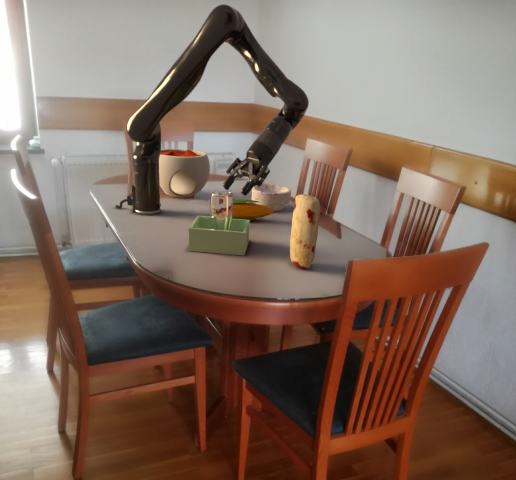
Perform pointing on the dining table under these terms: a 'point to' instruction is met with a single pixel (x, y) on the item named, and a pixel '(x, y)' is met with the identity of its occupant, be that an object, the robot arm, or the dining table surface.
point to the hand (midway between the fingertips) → (233, 190)
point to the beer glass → (221, 210)
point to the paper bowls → (271, 196)
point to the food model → (304, 230)
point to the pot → (183, 172)
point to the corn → (249, 210)
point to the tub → (219, 237)
